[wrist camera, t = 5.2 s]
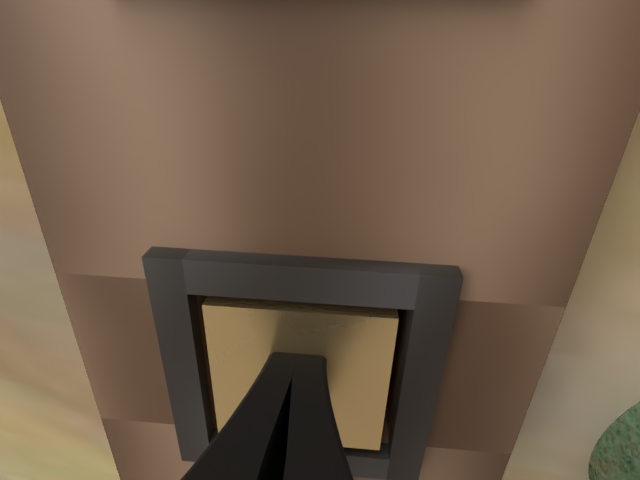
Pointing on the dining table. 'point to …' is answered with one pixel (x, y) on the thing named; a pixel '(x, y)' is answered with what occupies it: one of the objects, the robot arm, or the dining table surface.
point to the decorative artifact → (618, 449)
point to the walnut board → (320, 195)
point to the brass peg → (305, 338)
